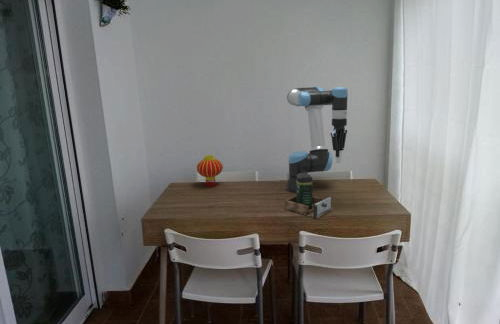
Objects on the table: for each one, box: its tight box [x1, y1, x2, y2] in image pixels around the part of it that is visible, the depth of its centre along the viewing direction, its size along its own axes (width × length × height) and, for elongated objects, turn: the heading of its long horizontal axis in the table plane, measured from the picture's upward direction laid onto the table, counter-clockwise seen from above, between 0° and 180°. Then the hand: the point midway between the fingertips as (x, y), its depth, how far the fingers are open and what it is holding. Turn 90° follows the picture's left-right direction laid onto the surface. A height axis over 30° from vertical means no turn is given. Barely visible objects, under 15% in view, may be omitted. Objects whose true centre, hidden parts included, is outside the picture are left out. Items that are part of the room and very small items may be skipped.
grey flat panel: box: [315, 196, 332, 215], centre depth 186 cm, size 2×13×6 cm, turn 136°
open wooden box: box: [284, 194, 334, 220], centre depth 193 cm, size 20×15×6 cm
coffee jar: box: [296, 173, 313, 209], centre depth 193 cm, size 10×8×19 cm
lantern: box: [196, 146, 224, 187], centre depth 239 cm, size 17×17×30 cm
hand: (338, 162), depth 191 cm, fingers closed
